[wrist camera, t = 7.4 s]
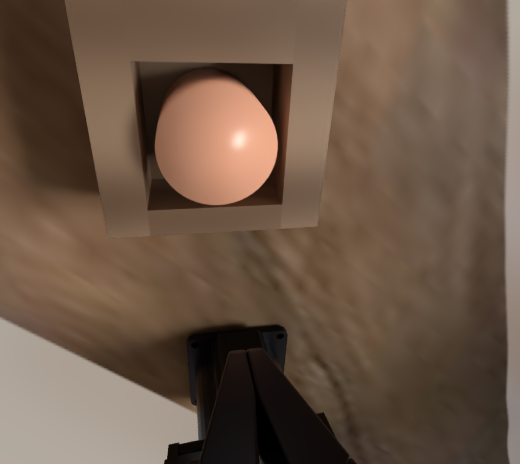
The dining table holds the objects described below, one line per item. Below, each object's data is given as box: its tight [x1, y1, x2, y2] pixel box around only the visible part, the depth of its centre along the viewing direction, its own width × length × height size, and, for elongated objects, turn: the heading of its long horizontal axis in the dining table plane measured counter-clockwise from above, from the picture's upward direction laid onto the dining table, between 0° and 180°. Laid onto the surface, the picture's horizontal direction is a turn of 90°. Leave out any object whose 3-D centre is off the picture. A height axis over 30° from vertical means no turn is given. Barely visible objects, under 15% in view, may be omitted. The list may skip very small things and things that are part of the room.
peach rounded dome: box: [155, 68, 278, 205], centre depth 16 cm, size 4×4×4 cm
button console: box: [64, 0, 347, 238], centre depth 15 cm, size 16×9×4 cm, turn 178°
